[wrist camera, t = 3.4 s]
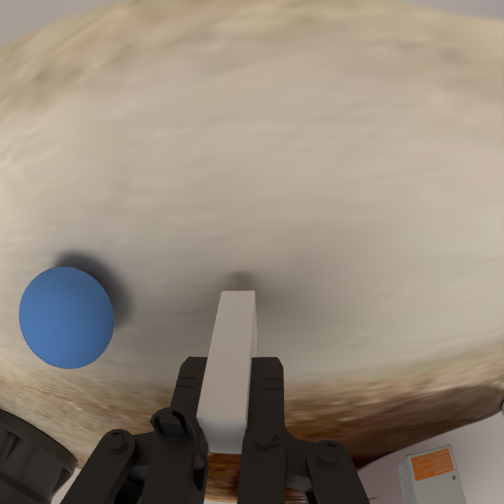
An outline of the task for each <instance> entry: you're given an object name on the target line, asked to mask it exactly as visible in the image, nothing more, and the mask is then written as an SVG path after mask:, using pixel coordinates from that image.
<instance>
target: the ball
mask: <svg viewBox="0 0 504 504" xmlns="http://www.w3.org/2000/svg"><path fill="white" fill-rule="evenodd" d="M19 321H20V327H21V331H22V334H23V336H24V339H25V341H26V342H27V344H28V346H29V347H30V349H31V350H32V351H33V352H34V353H35V354H36V355H37V356H38V357H39V358H40V359H42V360H43V361H44V362H46V363H48V364H50V365H52V366H55V367H59V368H64V369H74V368H80V367H83V366H86V365H88V364H90V363H92V362H94V361H95V360H96V359H97V358H99V357H100V356H101V355H102V353H103V352H104V351H105V349H106V348H107V346H108V344H109V342H110V340H111V337H112V333H113V328H114V314H113V308H112V305H111V302H110V299H109V297H108V295H107V293H106V291H105V290H104V288H103V287H102V286H101V284H100V283H99V282H98V281H97V280H96V279H95V278H93V277H92V276H91V275H89V274H88V273H86V272H84V271H82V270H79V269H76V268H72V267H56V268H51V269H49V270H46V271H44V272H42V273H41V274H39V275H38V276H36V277H35V278H34V279H33V280H32V281H31V282H30V284H29V285H28V286H27V288H26V290H25V292H24V294H23V296H22V299H21V303H20V309H19Z"/></svg>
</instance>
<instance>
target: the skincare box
mask: <svg viewBox="0 0 504 504" xmlns="http://www.w3.org/2000/svg"><path fill="white" fill-rule="evenodd" d="M399 475H400V480H401V486H402V492H403V498H404V504H466V502H465V497H464V493H463V489H462V485H461V481H460V477H459V473H458V469H457V465H456V462H455V458H454V454H453V451H452V447H451V445H450V444H449V445H446V446H444V447H440V448H436V449H432V450H428V451H424V452H420V453H416V454H410V455H407V456H406V458H405V459H404V460H403V462H402V463H401V465H400V466H399Z"/></svg>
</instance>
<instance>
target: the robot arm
mask: <svg viewBox="0 0 504 504" xmlns="http://www.w3.org/2000/svg"><path fill="white" fill-rule="evenodd" d="M257 341H258V330H257V314H256V299H255V291H221V296H220V301H219V306H218V310H217V315H216V320H215V325H214V330H213V335H212V339H211V344H210V349H209V354H208V357H188V358H187V359H186V360H185V362H184V363H183V364H182V365H181V367H180V371H179V375H178V379H177V382H176V387H175V390H174V394H173V398H172V401H171V405H170V407H168V408H164V409H161V410H159V411H157V412H156V413H155V414H154V415H153V416H152V418H151V420H150V423H151V424H152V426H153V428H154V429H155V431H153V432H149V433H144V434H137V435H131V434H130V433H129V432H127V431H126V430H122V429H115V430H111V431H109V432H107V433H106V434H105V435H104V436H103V437H102V439H101V440H100V442H99V443H98V445H97V447H96V448H95V450H94V451H93V453H92V454H91V456H90V457H89V459H88V460H87V462H86V464H85V465H84V467H83V468H82V470H81V471H80V473H79V475H78V476H77V478H76V479H75V481H74V482H73V484H72V486H71V487H70V489H69V490H68V492H67V493H66V495H65V497H64V498H63V500H62V501H61V503H60V504H203V503H204V496H205V489H206V482H207V474H208V467H209V466H208V460H207V453H208V448H209V451H210V452H211V453H226V454H241V465H240V477H239V489H238V500H237V504H284V502H285V486H287V487H290V488H294V489H298V490H302V491H303V494H304V497H305V501H306V504H370V502H369V500H368V497H367V495H366V493H365V491H364V488H363V485H362V483H361V481H360V478H359V476H358V474H357V471H356V469H355V466H354V464H353V462H352V459H351V457H350V455H349V452H348V450H347V449H346V448H345V446H344V445H343V444H341V443H339V442H338V441H334V440H322V441H319V442H317V443H311V442H307V441H303V440H300V439H297V438H295V437H294V436H292V435H291V434H290V433H289V432H288V431H287V429H286V427H285V423H284V376H283V366H282V364H281V362H280V360H279V359H278V357H257ZM76 465H77V461H76V460H75V458H74V457H73V456H72V455H71V454H70V453H69V452H68V451H67V450H66V449H64V448H63V447H62V446H61V445H59V444H58V443H57V442H55V441H54V440H52V439H51V438H49V437H48V436H46V435H45V434H43V433H42V432H40V431H39V430H37V429H36V428H34V427H32V426H31V425H29V424H27V423H26V422H24V421H22V420H20V419H19V418H17V417H15V416H13V415H11V414H8V413H6V412H3V411H0V504H51V501H52V498H53V497H54V496H55V494H56V493H57V492H58V491H59V490H60V489H61V487H62V486H63V485H64V484H65V483H66V482H67V481H68V480H69V478H70V477H71V476H72V475H73V473H74V470H75V467H76Z"/></svg>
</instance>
